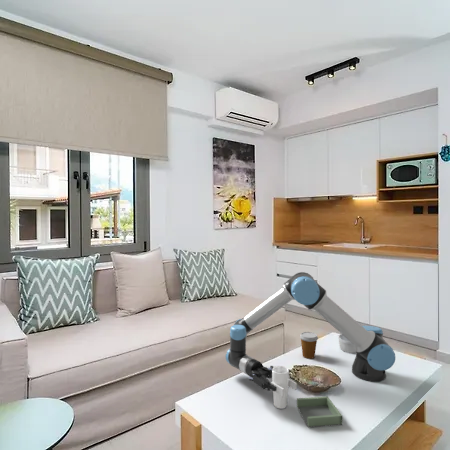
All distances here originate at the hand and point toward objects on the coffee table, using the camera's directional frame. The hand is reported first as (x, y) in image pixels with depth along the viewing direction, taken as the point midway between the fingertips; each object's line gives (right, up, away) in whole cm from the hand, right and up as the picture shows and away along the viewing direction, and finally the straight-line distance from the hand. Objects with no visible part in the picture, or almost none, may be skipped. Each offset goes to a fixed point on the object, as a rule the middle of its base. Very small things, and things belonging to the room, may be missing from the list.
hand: (289, 389), depth 131 cm
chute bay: (+11, -9, -2) cm, 14 cm away
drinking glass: (-3, -9, +4) cm, 10 cm away
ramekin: (+46, -7, +59) cm, 75 cm away
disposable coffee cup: (+20, -7, +50) cm, 54 cm away
